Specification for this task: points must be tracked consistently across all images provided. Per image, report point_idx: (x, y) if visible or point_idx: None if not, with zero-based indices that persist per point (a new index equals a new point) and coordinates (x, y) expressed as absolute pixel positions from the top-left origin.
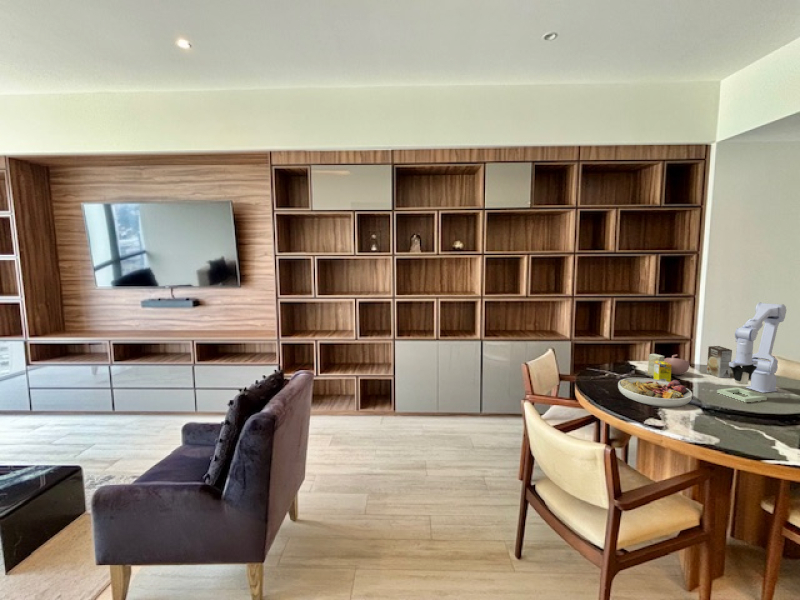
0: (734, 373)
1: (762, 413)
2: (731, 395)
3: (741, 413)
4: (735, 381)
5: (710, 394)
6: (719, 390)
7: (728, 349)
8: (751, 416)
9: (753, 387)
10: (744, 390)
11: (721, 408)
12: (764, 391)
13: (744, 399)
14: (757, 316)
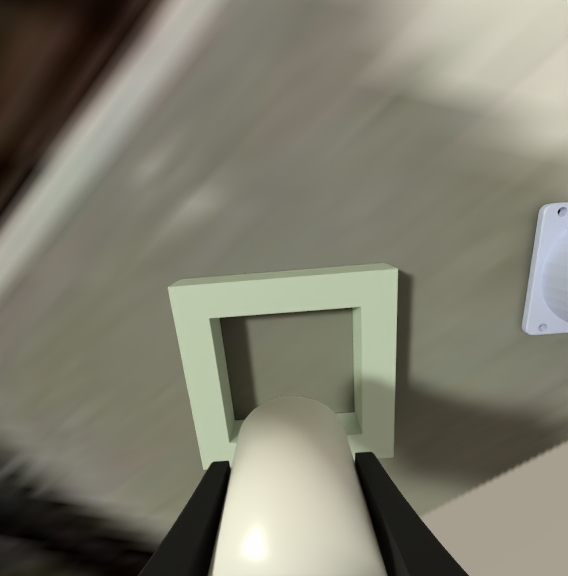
0: (160, 572)
1: None
2: (191, 387)
3: (68, 535)
4: (244, 426)
5: (119, 284)
6: (171, 305)
7: None
8: (88, 563)
9: (556, 264)
10: (371, 341)
11: (12, 477)
12: (548, 328)
13: (204, 461)
14: None
